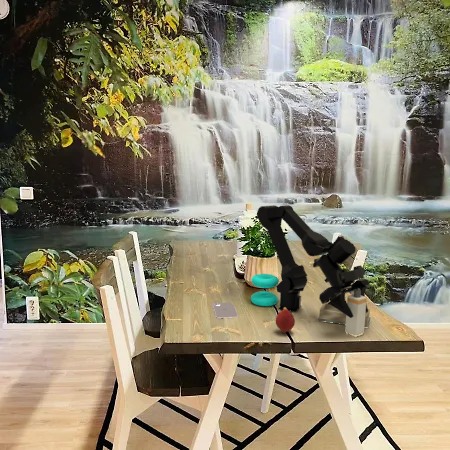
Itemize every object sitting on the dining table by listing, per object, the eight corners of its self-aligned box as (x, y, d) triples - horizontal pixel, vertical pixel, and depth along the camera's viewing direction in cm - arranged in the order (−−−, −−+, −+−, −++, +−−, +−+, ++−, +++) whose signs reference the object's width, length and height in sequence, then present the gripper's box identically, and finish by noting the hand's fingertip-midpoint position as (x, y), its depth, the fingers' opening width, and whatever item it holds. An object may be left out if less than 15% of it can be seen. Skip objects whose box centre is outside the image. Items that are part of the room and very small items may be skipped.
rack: (317, 321, 151) (318, 309, 150) (322, 312, 159) (323, 301, 158) (367, 328, 145) (368, 316, 144) (370, 319, 153) (371, 307, 152)
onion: (292, 328, 143) (293, 304, 142) (295, 336, 138) (296, 311, 136) (273, 328, 143) (274, 304, 142) (276, 336, 138) (277, 310, 136)
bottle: (344, 333, 141) (347, 289, 139) (353, 330, 143) (356, 287, 141) (355, 337, 138) (359, 293, 135) (363, 334, 140) (367, 290, 138)
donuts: (246, 277, 164) (258, 271, 173) (245, 304, 166) (258, 296, 174) (271, 281, 159) (283, 275, 168) (270, 309, 161) (282, 301, 169)
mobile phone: (216, 317, 150) (211, 302, 165) (216, 320, 151) (211, 304, 165) (239, 316, 151) (232, 301, 166) (239, 319, 152) (232, 304, 166)
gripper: (329, 261, 134) (358, 308, 127) (366, 253, 145) (395, 296, 139) (307, 281, 141) (333, 326, 135) (345, 272, 153) (371, 313, 146)
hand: (359, 314), depth 138 cm, fingers open, 7 cm apart
